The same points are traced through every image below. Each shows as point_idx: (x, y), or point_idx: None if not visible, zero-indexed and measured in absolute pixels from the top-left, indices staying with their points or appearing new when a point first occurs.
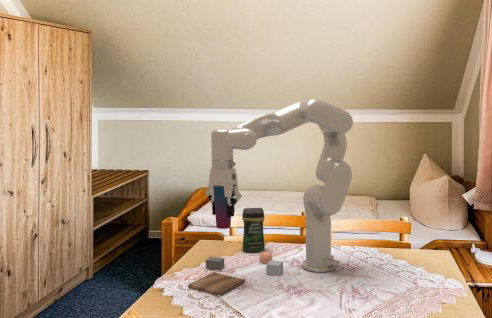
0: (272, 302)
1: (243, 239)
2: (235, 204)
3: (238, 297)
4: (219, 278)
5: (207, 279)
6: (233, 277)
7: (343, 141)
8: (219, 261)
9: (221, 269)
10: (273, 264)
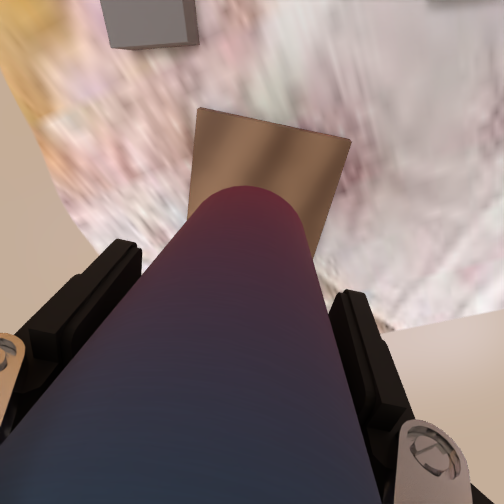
0: (474, 258)
1: None
2: (443, 432)
3: (362, 256)
4: (252, 164)
5: (216, 187)
6: (300, 136)
7: None
8: (184, 41)
9: (196, 28)
10: None
